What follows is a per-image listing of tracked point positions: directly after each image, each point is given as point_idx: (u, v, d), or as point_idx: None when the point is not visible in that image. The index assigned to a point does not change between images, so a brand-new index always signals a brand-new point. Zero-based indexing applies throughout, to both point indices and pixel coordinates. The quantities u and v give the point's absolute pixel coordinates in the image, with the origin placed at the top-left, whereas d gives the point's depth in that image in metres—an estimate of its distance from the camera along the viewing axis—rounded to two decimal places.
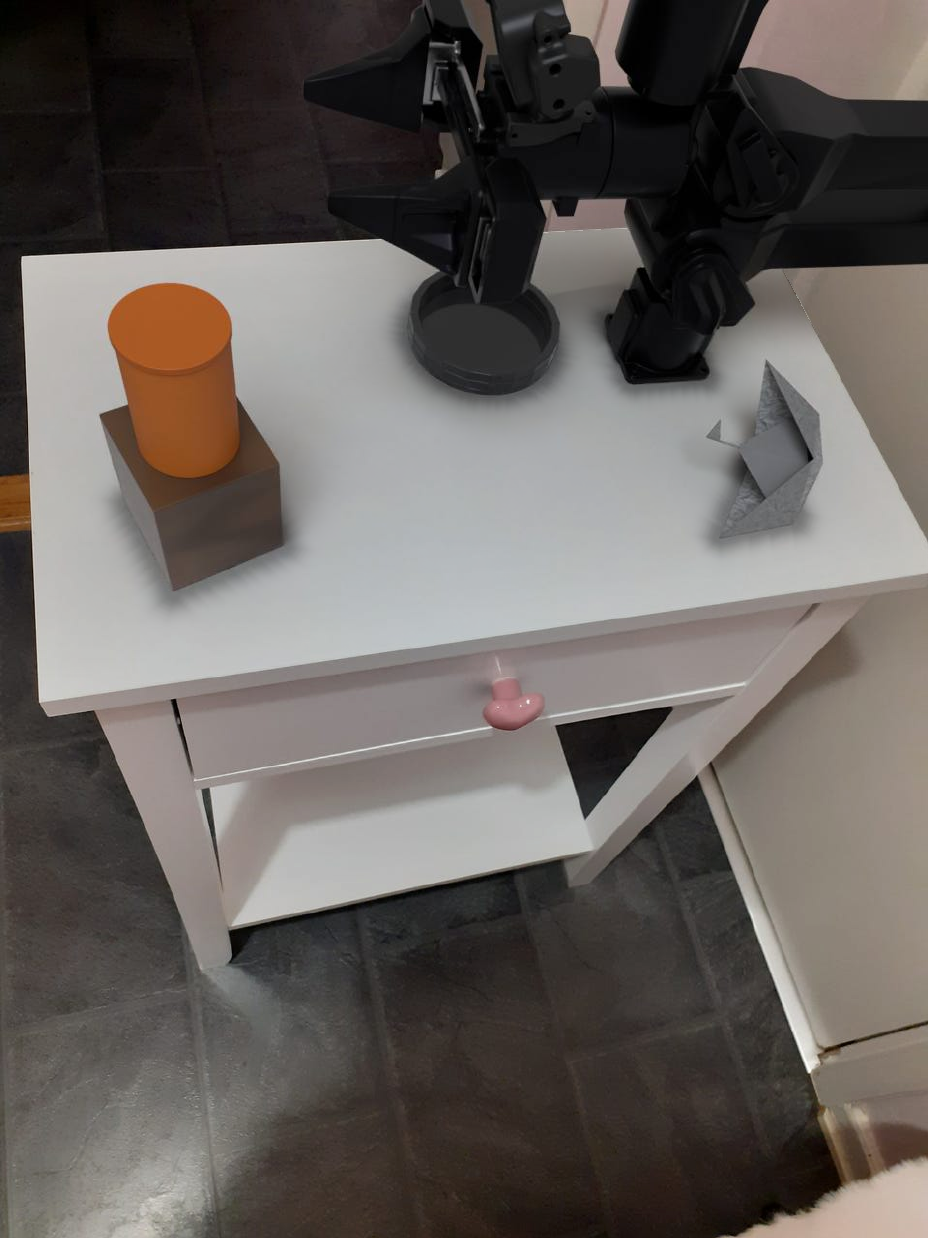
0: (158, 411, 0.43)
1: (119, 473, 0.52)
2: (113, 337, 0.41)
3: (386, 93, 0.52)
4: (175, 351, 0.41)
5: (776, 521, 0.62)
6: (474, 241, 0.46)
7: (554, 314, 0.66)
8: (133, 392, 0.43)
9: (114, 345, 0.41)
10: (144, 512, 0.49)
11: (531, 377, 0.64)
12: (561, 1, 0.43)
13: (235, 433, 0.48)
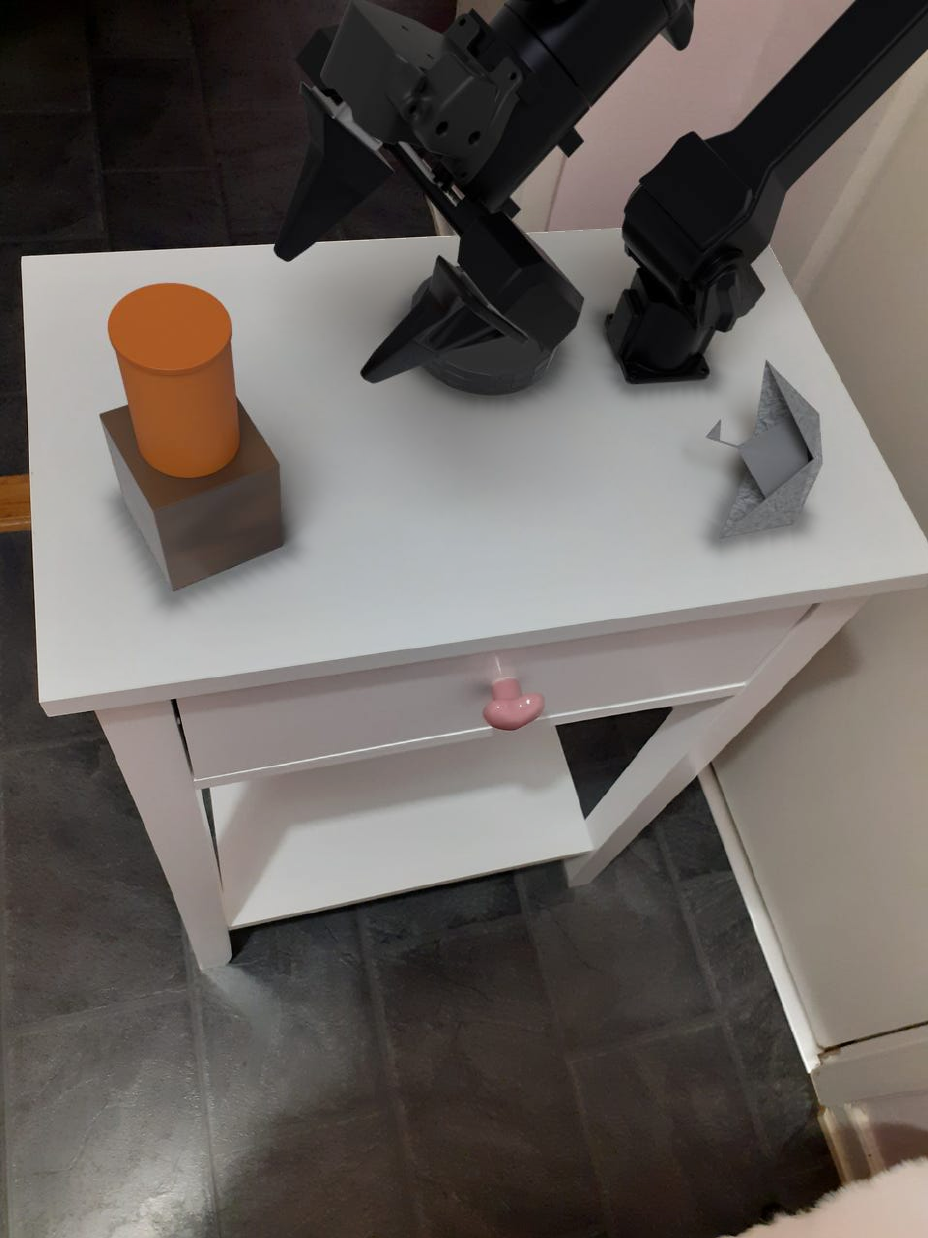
0: (158, 411, 0.43)
1: (119, 473, 0.52)
2: (113, 337, 0.41)
3: (340, 184, 0.47)
4: (175, 351, 0.41)
5: (776, 521, 0.62)
6: (501, 320, 0.41)
7: None
8: (133, 392, 0.43)
9: (114, 345, 0.41)
10: (144, 512, 0.49)
11: (531, 377, 0.64)
12: (395, 55, 0.35)
13: (235, 433, 0.48)
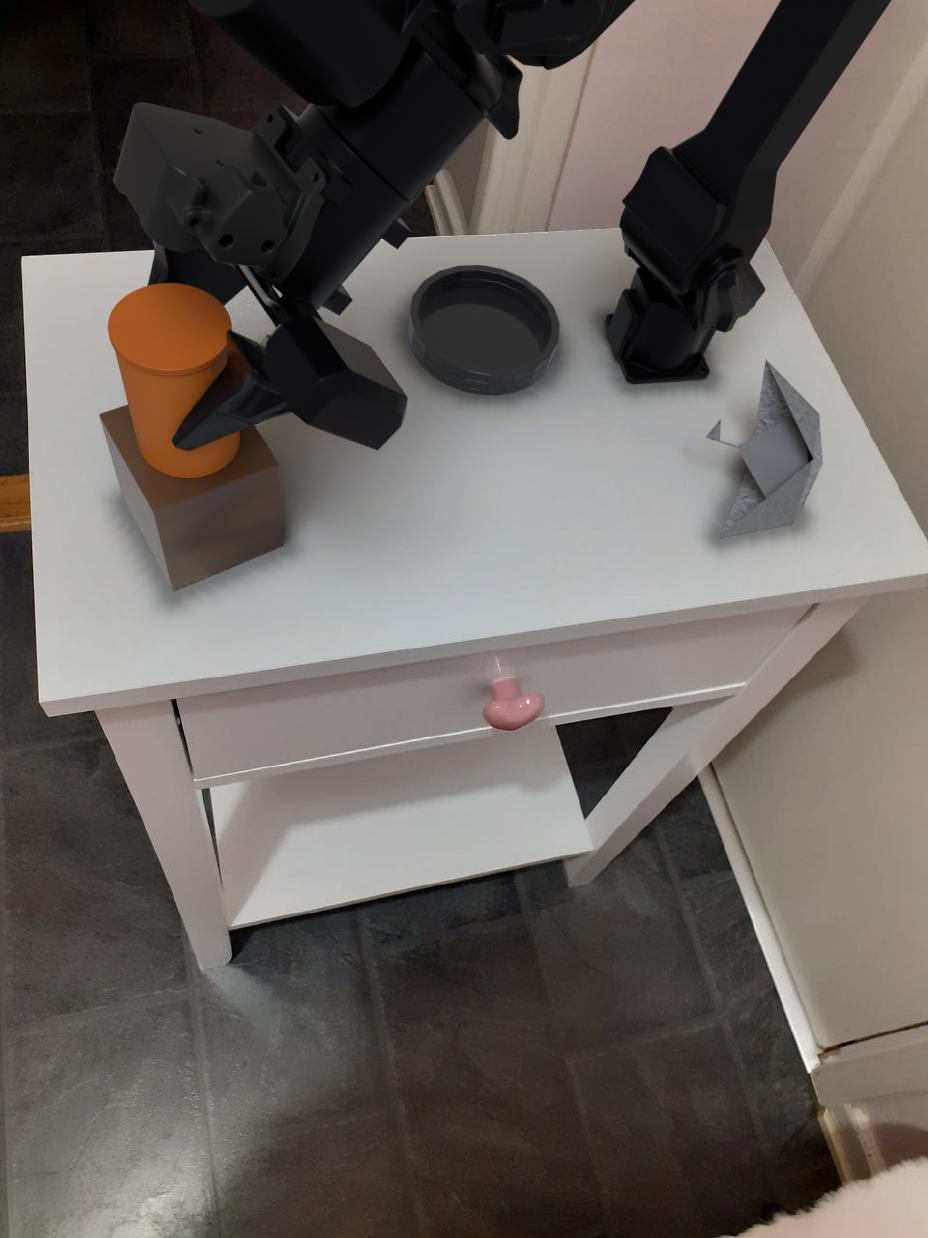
0: (158, 411, 0.43)
1: (119, 473, 0.52)
2: (113, 337, 0.41)
3: None
4: (175, 351, 0.41)
5: (776, 521, 0.62)
6: None
7: (554, 314, 0.66)
8: (133, 393, 0.43)
9: (114, 345, 0.41)
10: (144, 512, 0.49)
11: (531, 377, 0.64)
12: (172, 167, 0.34)
13: (235, 433, 0.48)
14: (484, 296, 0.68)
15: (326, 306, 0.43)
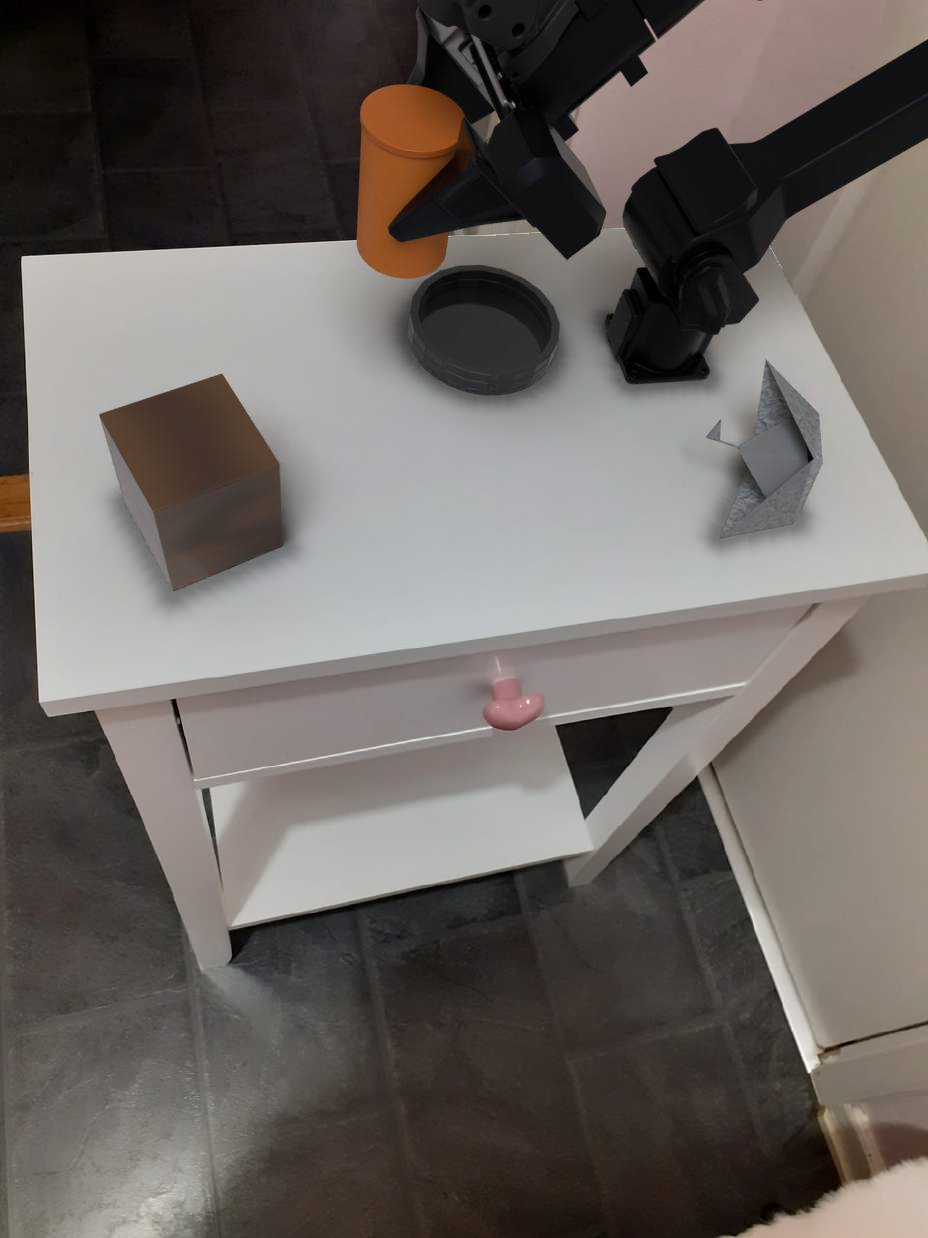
0: (383, 195, 0.48)
1: (119, 473, 0.52)
2: (363, 115, 0.46)
3: None
4: (412, 137, 0.46)
5: (776, 521, 0.62)
6: None
7: (554, 314, 0.66)
8: (366, 174, 0.48)
9: (362, 121, 0.46)
10: (144, 512, 0.49)
11: (531, 377, 0.64)
12: None
13: (442, 245, 0.52)
14: (484, 296, 0.68)
15: (553, 128, 0.47)
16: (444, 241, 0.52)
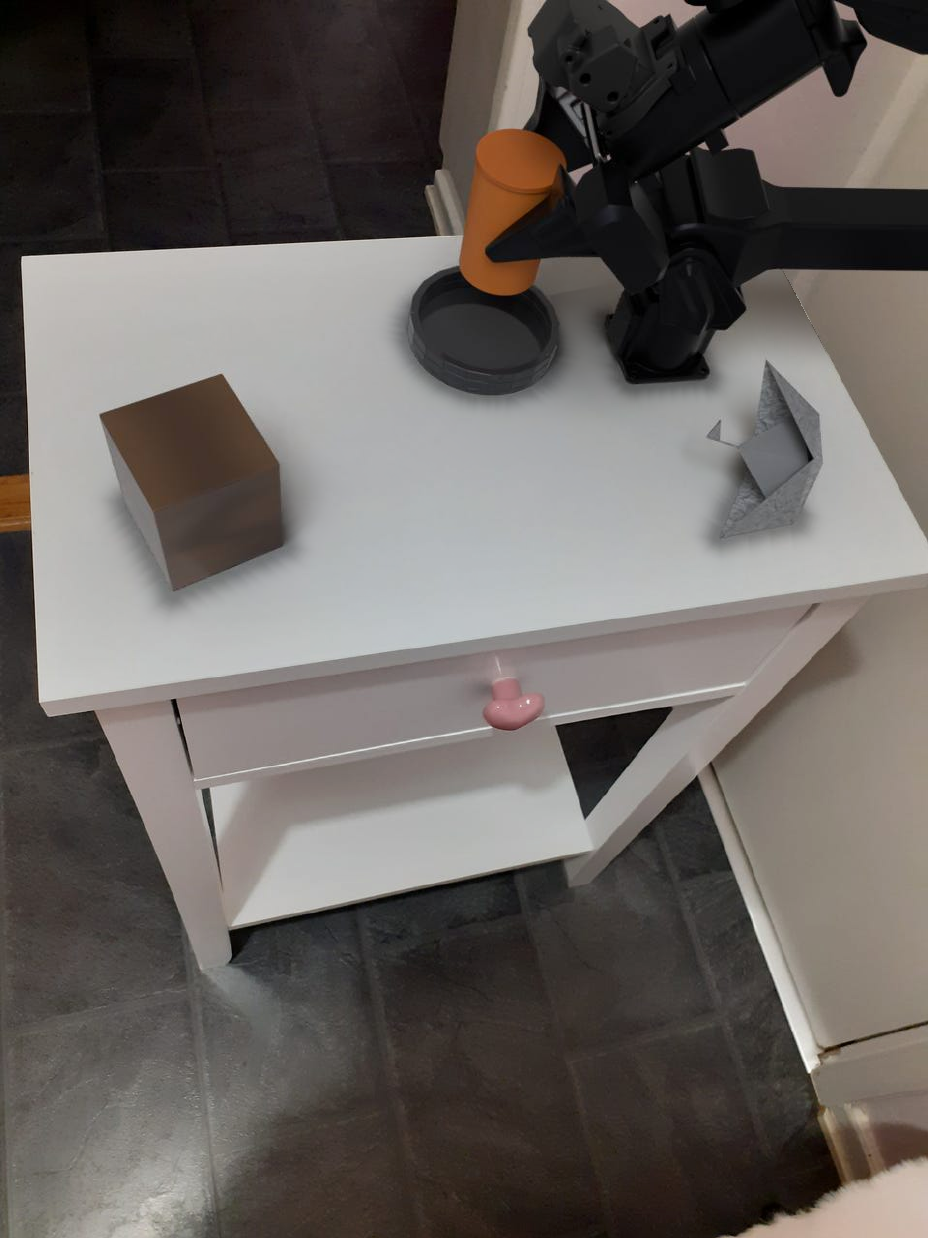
0: (485, 220, 0.56)
1: (119, 473, 0.52)
2: (478, 150, 0.54)
3: None
4: (516, 174, 0.53)
5: (776, 521, 0.62)
6: None
7: (554, 314, 0.66)
8: (474, 200, 0.55)
9: (476, 156, 0.54)
10: (144, 512, 0.49)
11: (531, 377, 0.64)
12: (570, 15, 0.45)
13: (532, 270, 0.59)
14: (484, 296, 0.68)
15: (640, 182, 0.53)
16: (534, 267, 0.59)
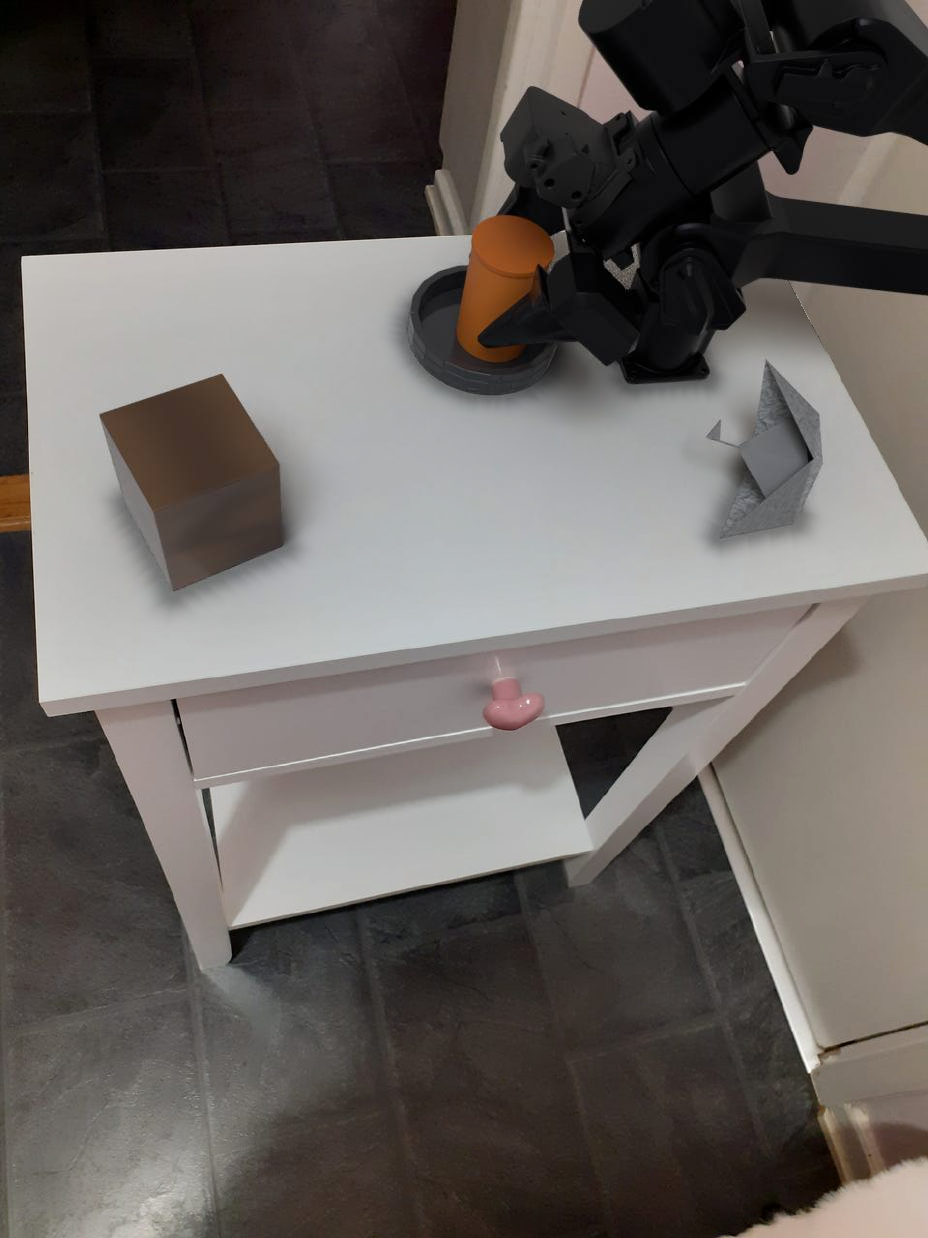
0: (480, 298, 0.61)
1: (119, 473, 0.52)
2: (474, 237, 0.59)
3: None
4: (509, 259, 0.58)
5: (776, 521, 0.62)
6: None
7: None
8: (470, 280, 0.61)
9: (472, 242, 0.59)
10: (144, 512, 0.49)
11: (531, 377, 0.64)
12: (533, 128, 0.51)
13: None
14: None
15: (613, 260, 0.58)
16: None
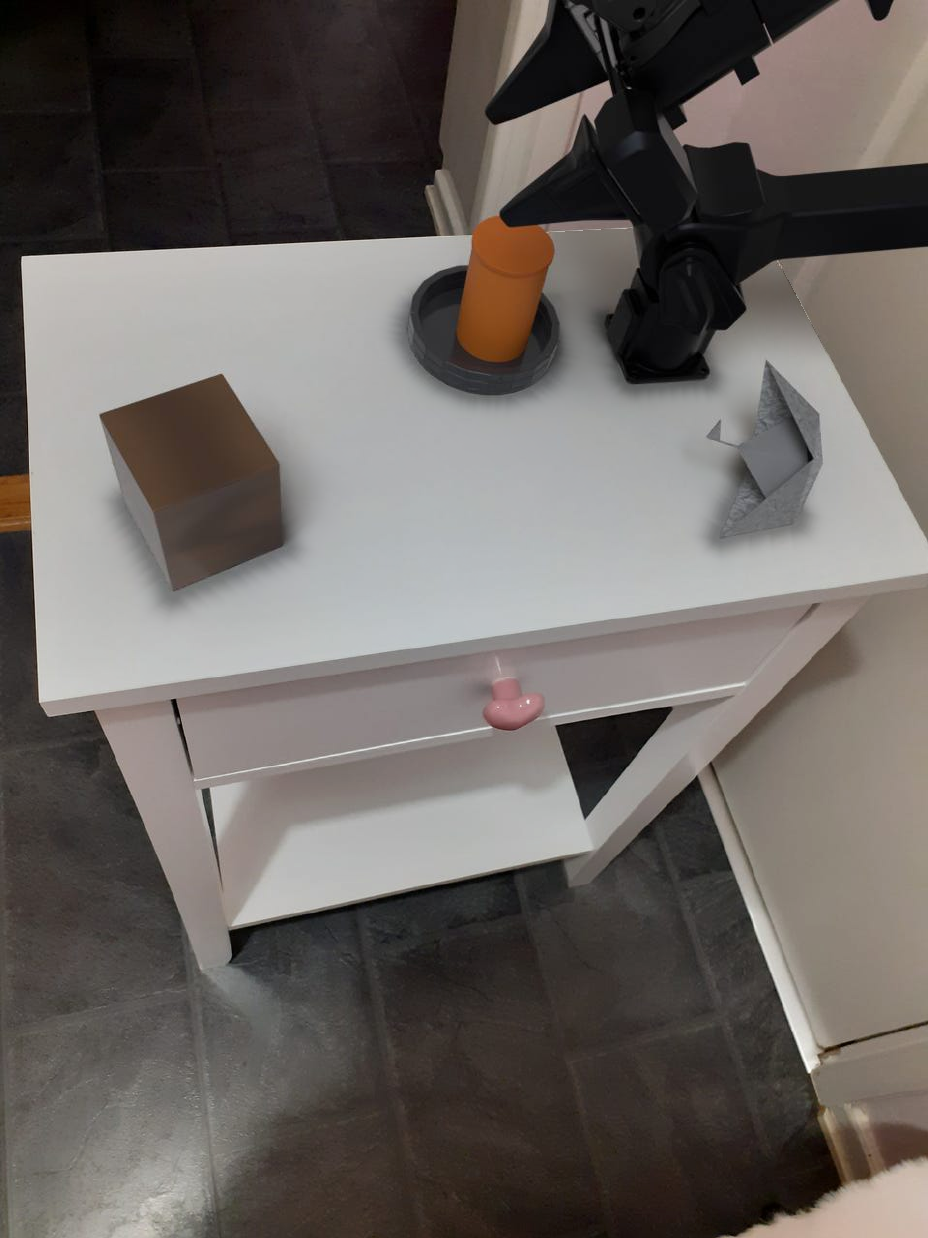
0: (480, 298, 0.61)
1: (119, 473, 0.52)
2: (474, 237, 0.59)
3: (557, 70, 0.55)
4: (509, 259, 0.58)
5: (776, 521, 0.62)
6: (618, 187, 0.47)
7: (554, 314, 0.66)
8: (470, 280, 0.61)
9: (472, 242, 0.59)
10: (144, 512, 0.49)
11: (531, 377, 0.64)
12: None
13: (523, 340, 0.64)
14: None
15: (663, 116, 0.50)
16: (525, 337, 0.64)
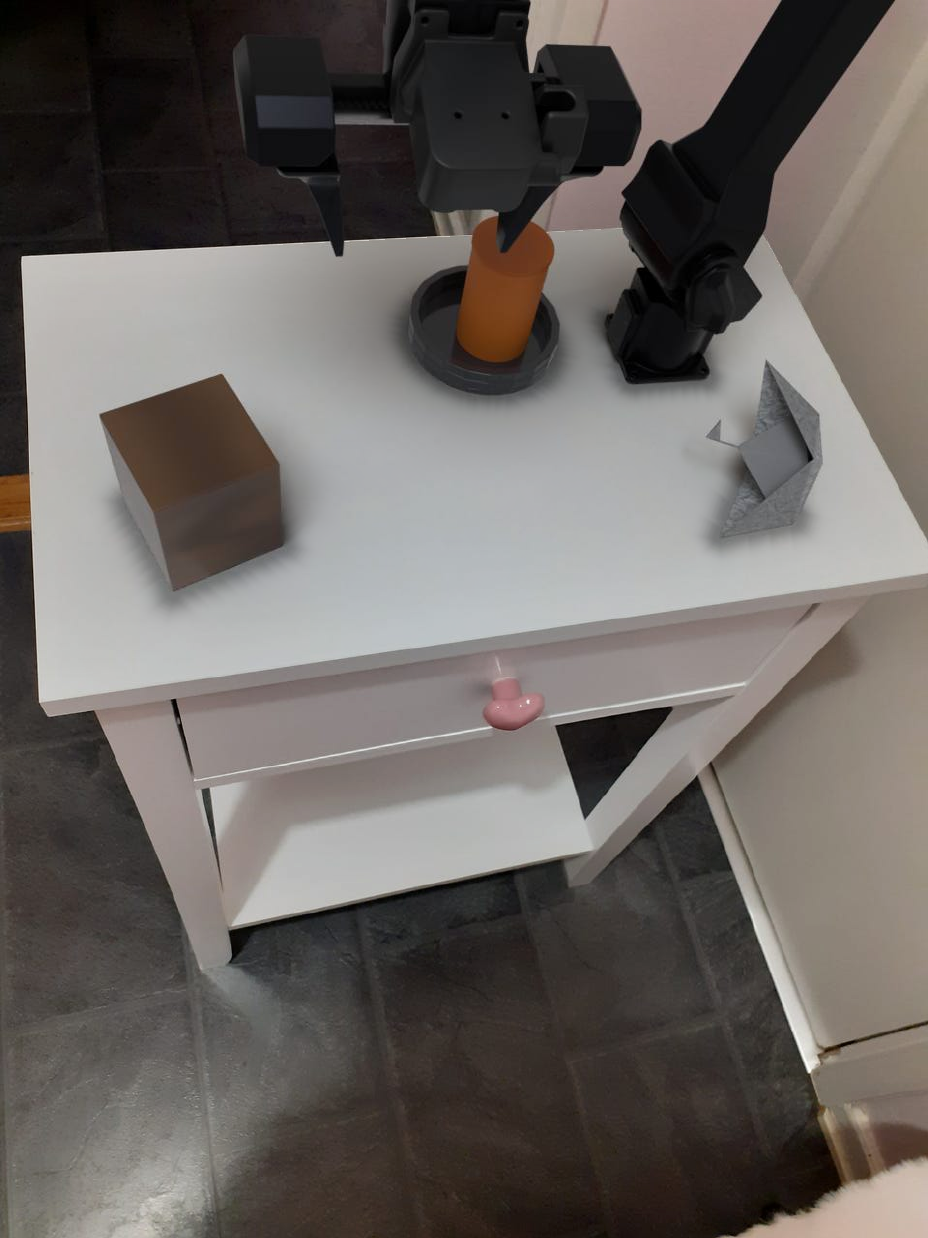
0: (480, 298, 0.61)
1: (119, 473, 0.52)
2: (474, 237, 0.59)
3: None
4: (509, 259, 0.58)
5: (776, 521, 0.62)
6: None
7: (554, 314, 0.66)
8: (470, 280, 0.61)
9: (472, 242, 0.59)
10: (144, 512, 0.49)
11: (531, 377, 0.64)
12: (531, 168, 0.38)
13: (523, 340, 0.64)
14: None
15: None
16: (525, 337, 0.64)
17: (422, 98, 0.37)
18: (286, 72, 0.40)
